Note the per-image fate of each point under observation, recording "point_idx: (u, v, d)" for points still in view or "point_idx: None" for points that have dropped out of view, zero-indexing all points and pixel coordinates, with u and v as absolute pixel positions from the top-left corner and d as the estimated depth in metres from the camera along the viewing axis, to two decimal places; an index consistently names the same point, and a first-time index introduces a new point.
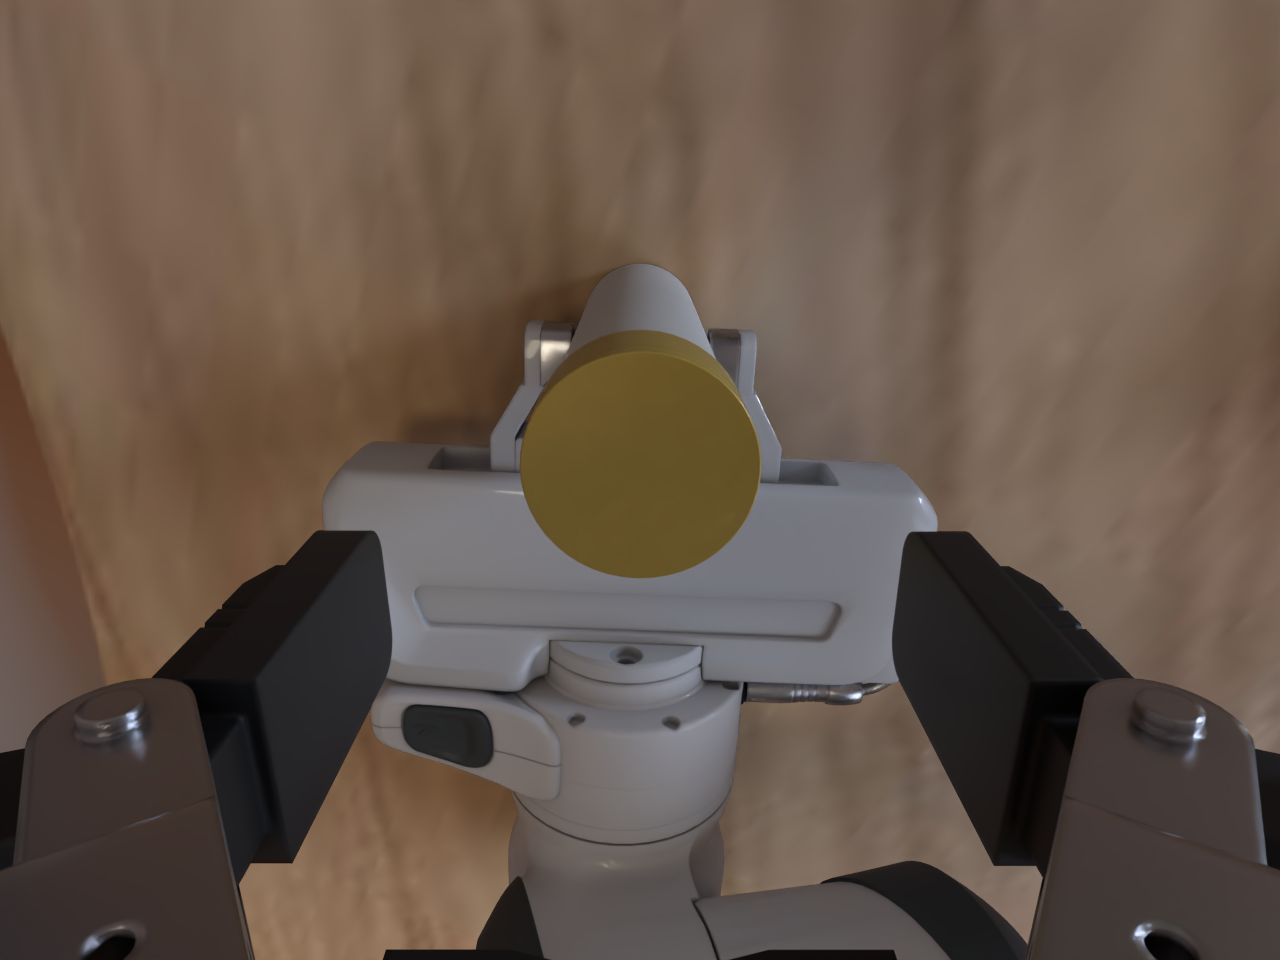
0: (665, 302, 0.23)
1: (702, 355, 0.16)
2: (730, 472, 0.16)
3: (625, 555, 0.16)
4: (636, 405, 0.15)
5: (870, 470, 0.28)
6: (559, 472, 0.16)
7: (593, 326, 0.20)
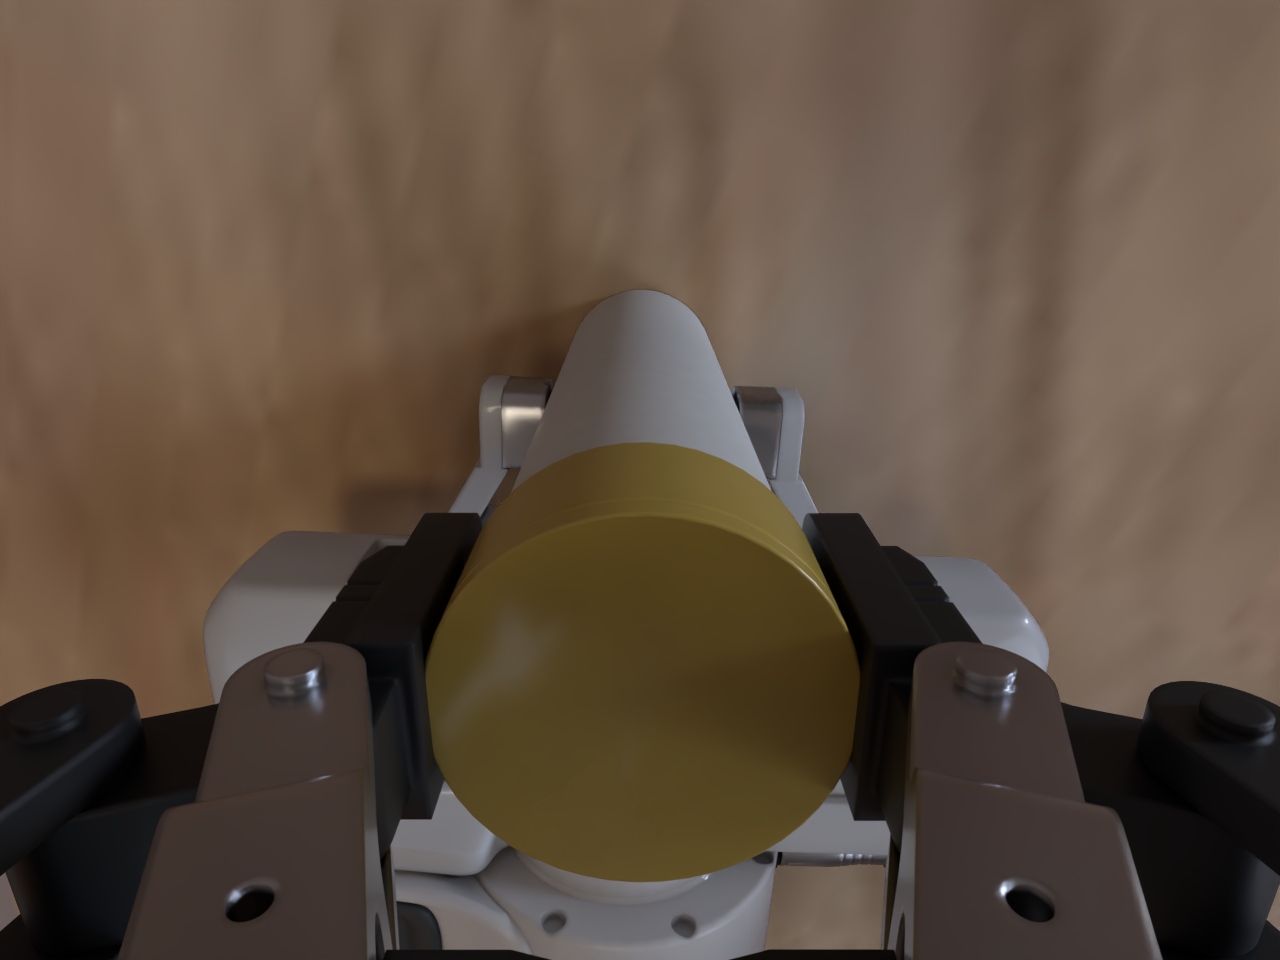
0: (678, 361, 0.16)
1: (752, 497, 0.09)
2: (806, 718, 0.09)
3: (615, 848, 0.09)
4: (634, 607, 0.08)
5: (951, 573, 0.21)
6: (494, 718, 0.09)
7: (569, 408, 0.13)
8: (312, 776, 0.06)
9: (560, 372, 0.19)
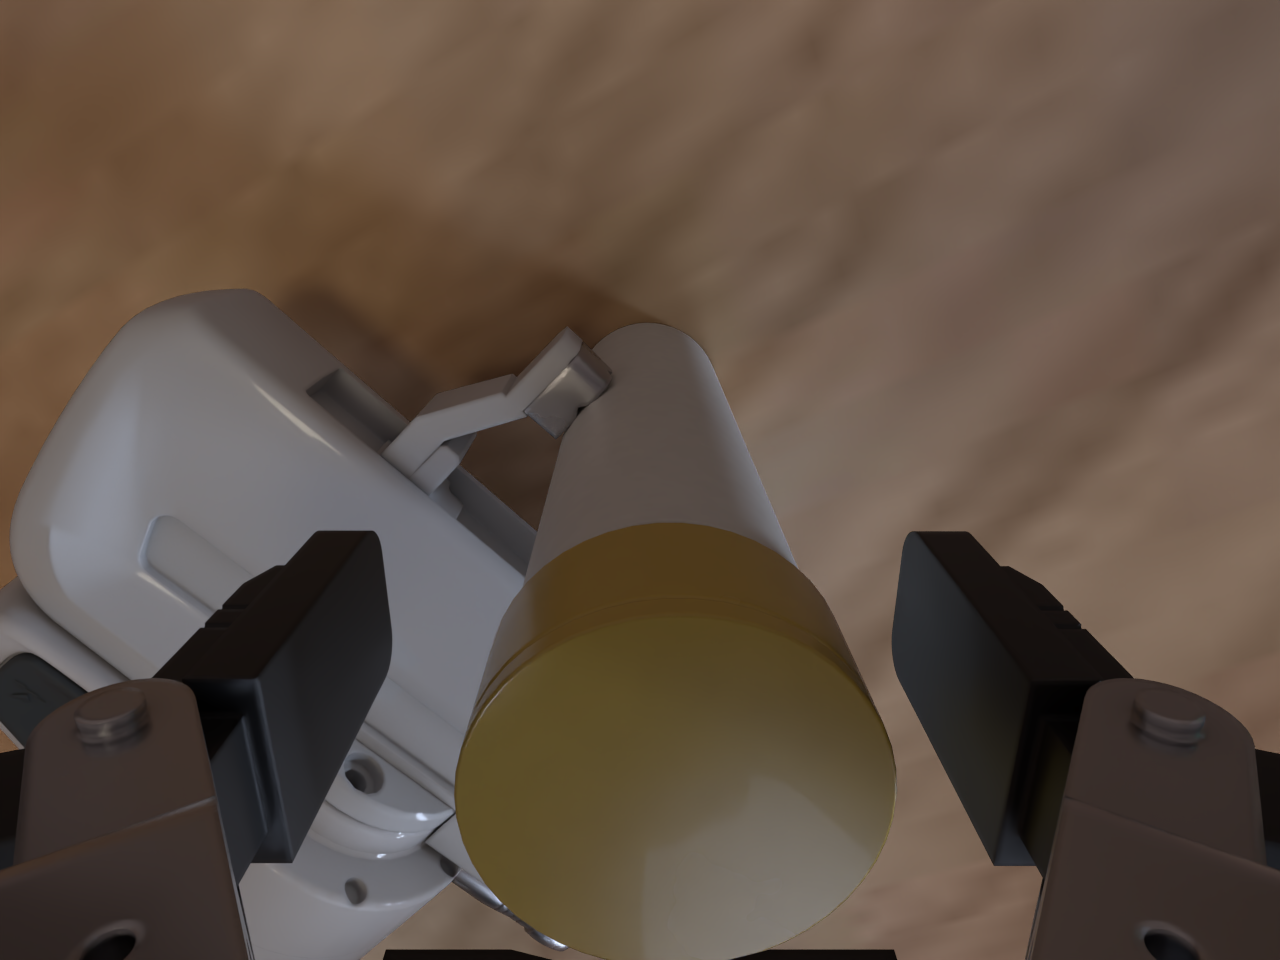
0: (751, 458, 0.16)
1: (631, 559, 0.09)
2: (805, 715, 0.08)
3: (763, 916, 0.09)
4: (582, 739, 0.08)
5: None
6: (572, 887, 0.09)
7: (681, 446, 0.13)
8: (151, 817, 0.06)
9: (623, 372, 0.19)
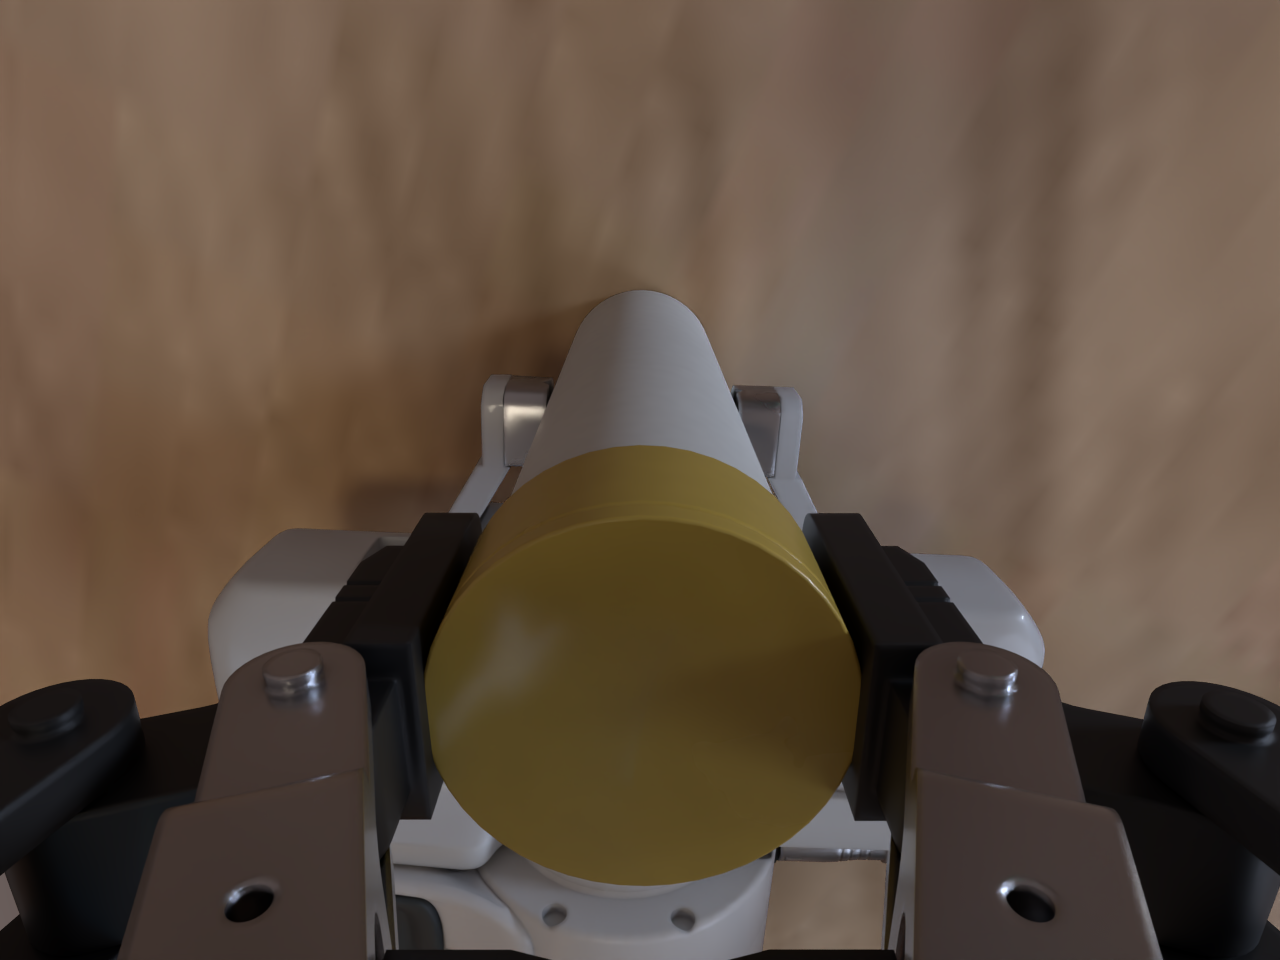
0: (678, 360, 0.16)
1: (477, 548, 0.09)
2: (660, 573, 0.08)
3: (807, 755, 0.09)
4: (517, 718, 0.09)
5: (948, 570, 0.21)
6: (633, 835, 0.09)
7: (570, 406, 0.13)
8: (311, 776, 0.06)
9: (561, 371, 0.19)
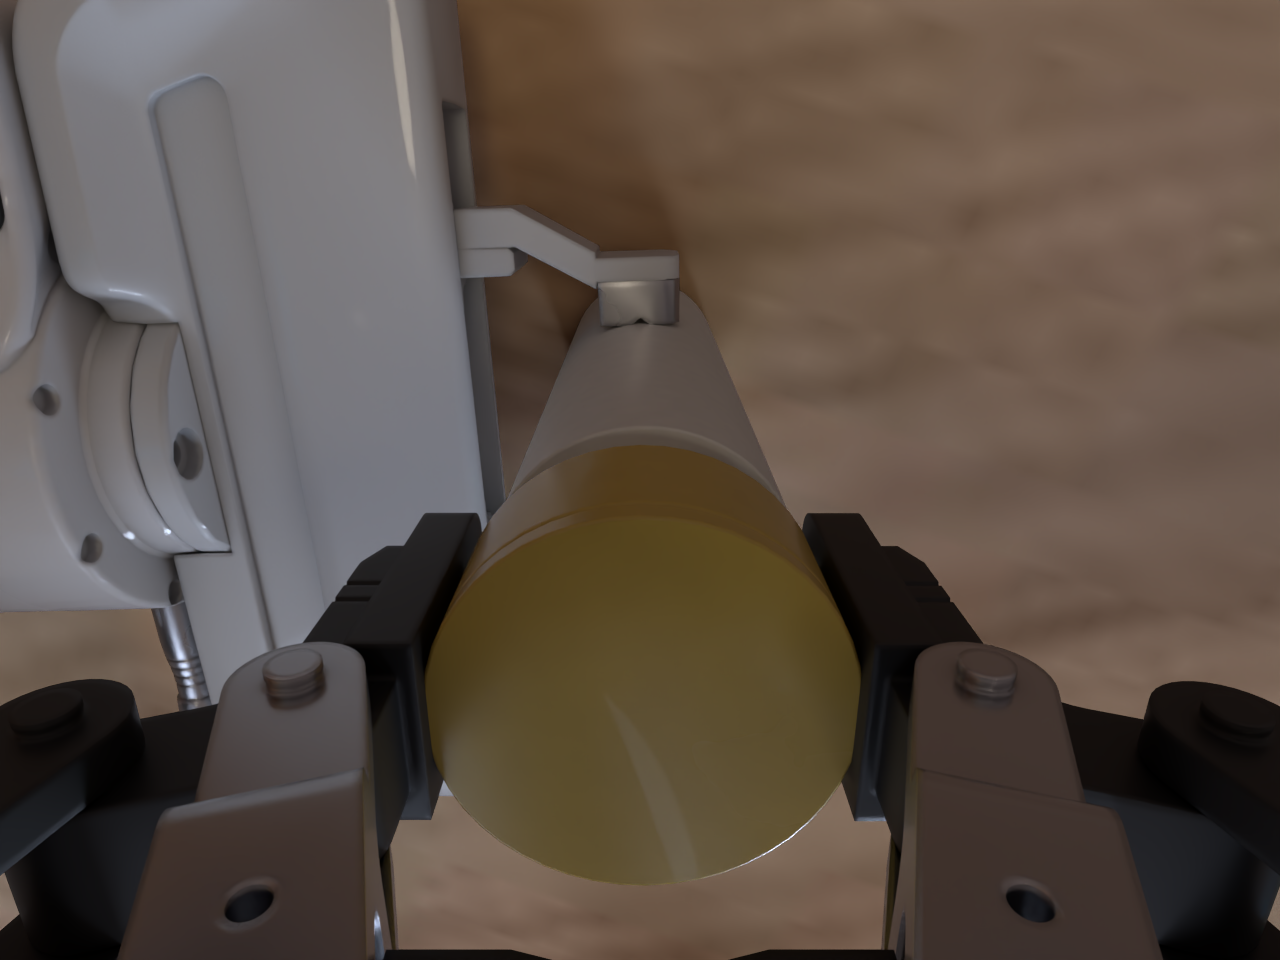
0: None
1: (478, 548, 0.09)
2: (660, 573, 0.08)
3: (807, 754, 0.09)
4: (518, 718, 0.09)
5: None
6: (634, 834, 0.09)
7: (745, 420, 0.14)
8: (312, 776, 0.06)
9: (683, 322, 0.19)
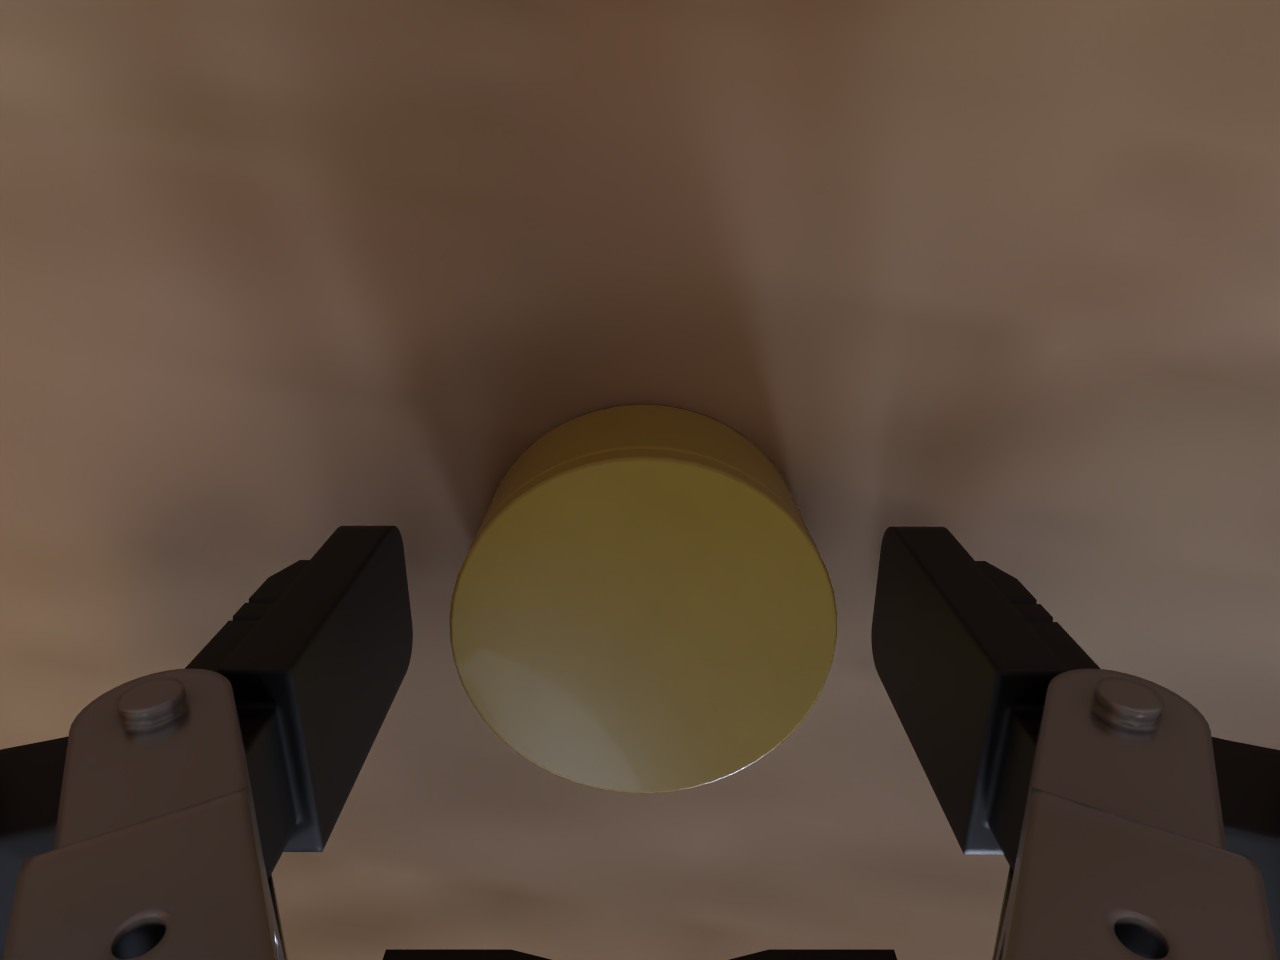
0: None
1: (497, 493, 0.11)
2: (658, 507, 0.09)
3: (787, 672, 0.10)
4: (533, 638, 0.10)
5: None
6: (635, 746, 0.10)
7: None
8: (186, 806, 0.06)
9: None
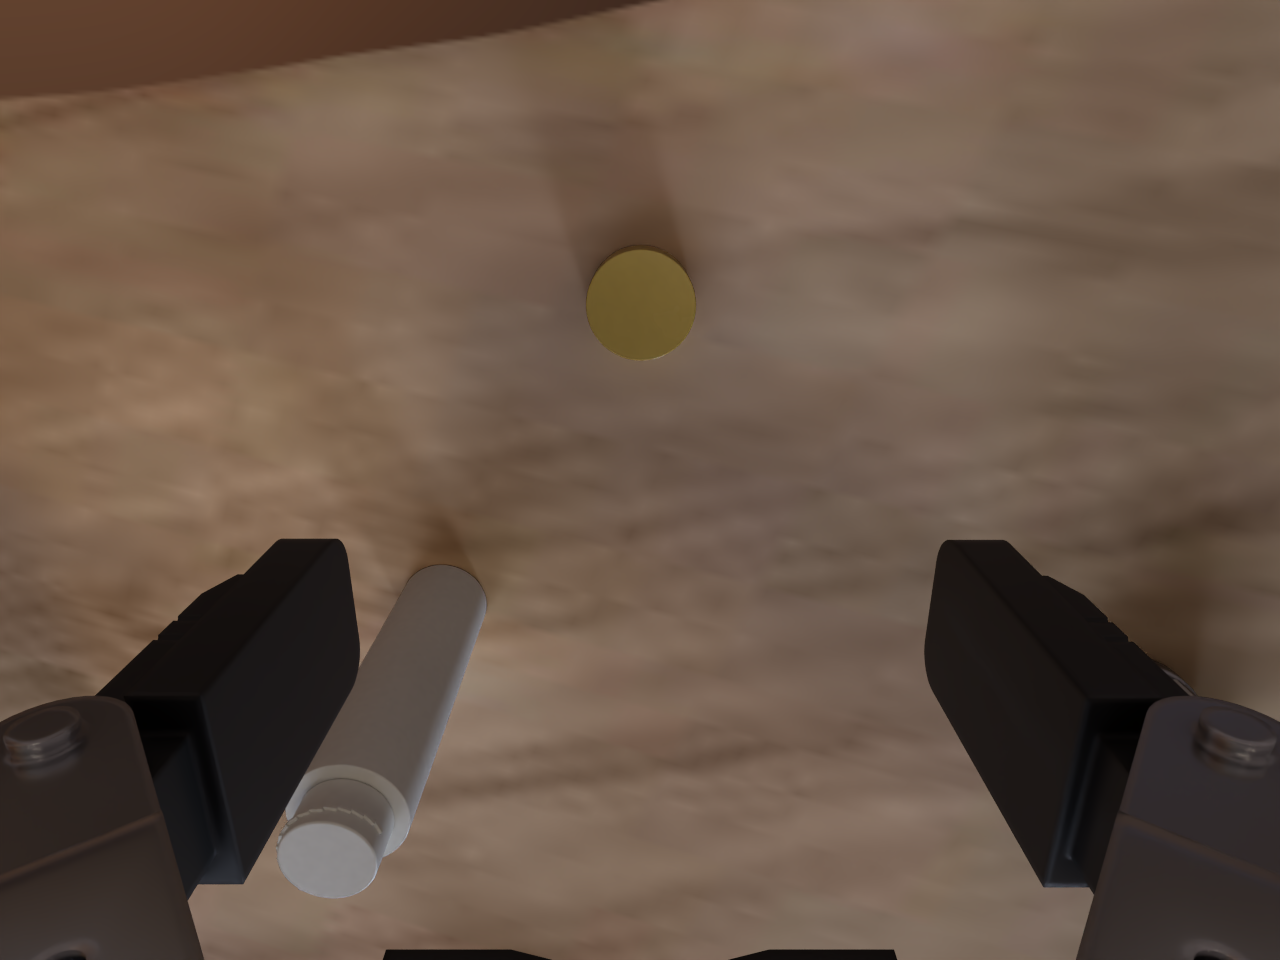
0: (445, 724, 0.34)
1: (597, 269, 0.35)
2: (645, 264, 0.34)
3: (682, 317, 0.35)
4: (609, 305, 0.35)
5: None
6: (638, 343, 0.35)
7: (416, 726, 0.31)
8: None
9: (430, 632, 0.36)
